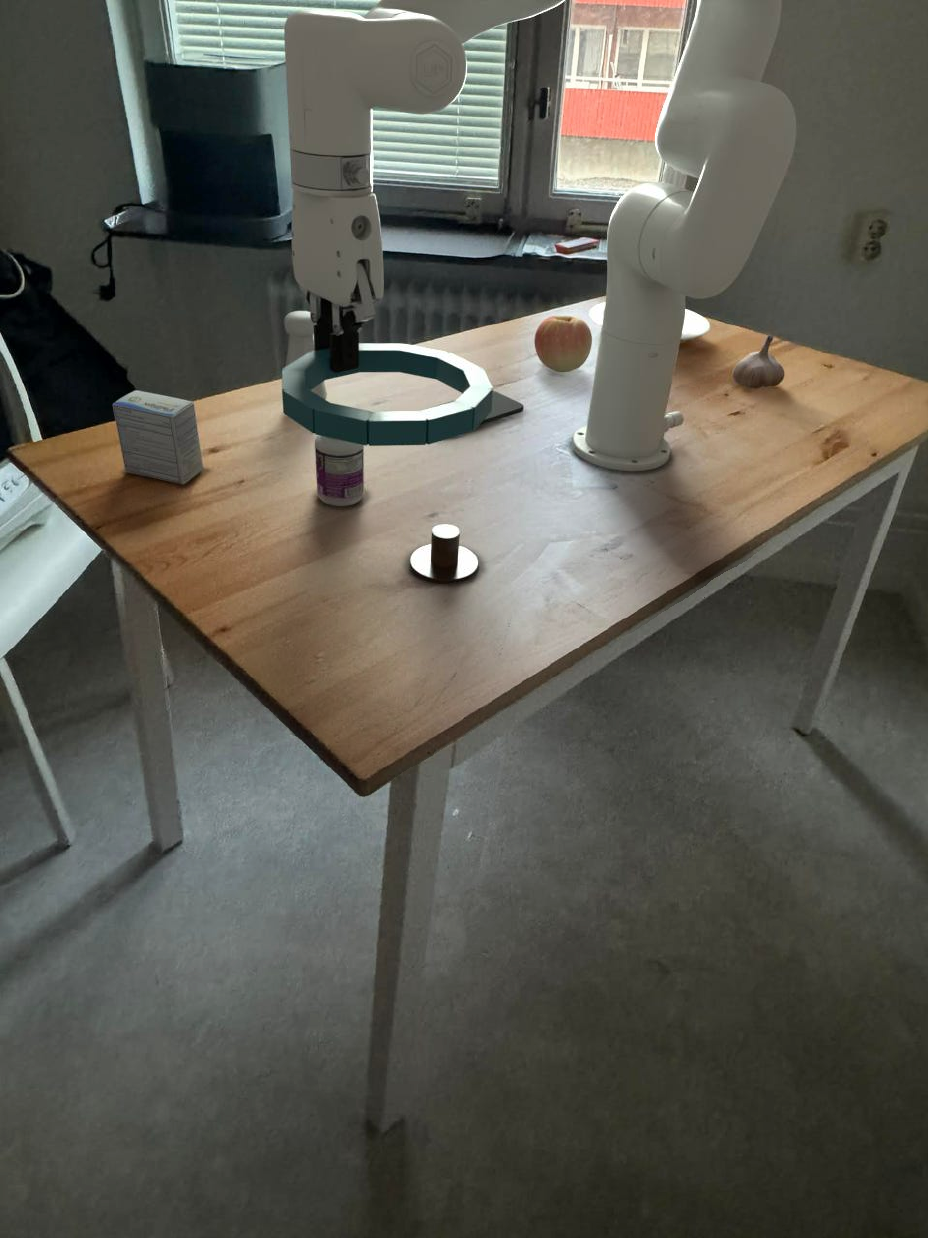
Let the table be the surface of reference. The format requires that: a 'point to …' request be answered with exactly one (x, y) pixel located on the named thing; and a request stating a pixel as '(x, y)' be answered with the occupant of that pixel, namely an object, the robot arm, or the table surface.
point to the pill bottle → (339, 471)
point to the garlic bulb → (759, 369)
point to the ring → (393, 424)
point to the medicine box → (158, 436)
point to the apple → (563, 343)
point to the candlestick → (693, 321)
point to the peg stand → (444, 558)
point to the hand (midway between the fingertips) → (337, 363)
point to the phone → (500, 408)
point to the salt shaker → (301, 341)
